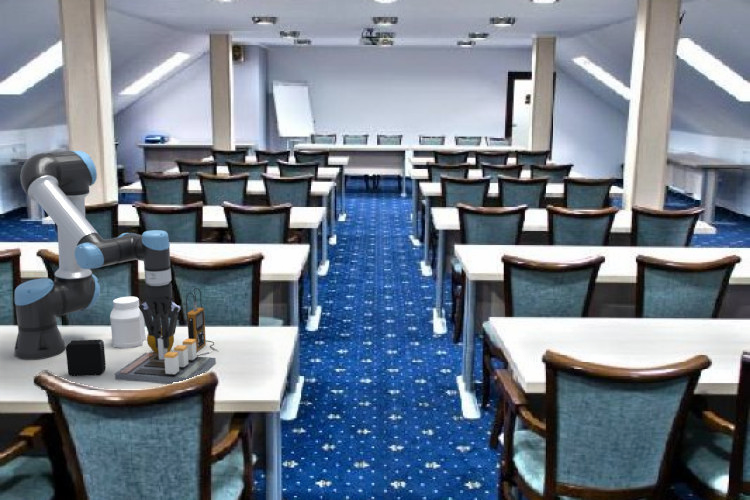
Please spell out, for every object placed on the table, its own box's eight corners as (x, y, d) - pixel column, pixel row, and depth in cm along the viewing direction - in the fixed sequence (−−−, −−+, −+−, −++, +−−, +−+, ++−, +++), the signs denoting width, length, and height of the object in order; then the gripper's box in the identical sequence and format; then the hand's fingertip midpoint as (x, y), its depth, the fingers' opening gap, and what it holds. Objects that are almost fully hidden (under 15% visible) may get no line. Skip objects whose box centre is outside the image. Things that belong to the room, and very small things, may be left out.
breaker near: (165, 373, 224) (164, 354, 222) (169, 370, 226) (168, 351, 225) (174, 374, 223) (173, 355, 222) (179, 370, 226) (178, 352, 224)
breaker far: (183, 359, 235) (182, 341, 234) (187, 356, 238) (186, 338, 236) (192, 360, 234) (191, 342, 233) (196, 356, 237) (195, 339, 236)
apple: (142, 355, 246) (140, 329, 244) (162, 347, 253) (160, 322, 251) (161, 360, 241) (159, 333, 239) (180, 352, 248) (179, 326, 247)
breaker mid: (175, 366, 229) (173, 348, 228) (179, 363, 232) (178, 345, 231) (184, 367, 229) (183, 348, 227) (188, 363, 231) (187, 345, 230)
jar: (139, 347, 253) (136, 304, 250) (110, 348, 252) (106, 305, 249) (147, 336, 264) (144, 294, 261) (119, 337, 263) (115, 295, 260)
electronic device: (72, 371, 232) (69, 340, 230) (106, 370, 233) (103, 339, 231) (68, 376, 228) (65, 344, 226) (102, 375, 229) (99, 343, 227)
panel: (115, 379, 226) (114, 372, 225) (145, 358, 243) (144, 351, 242) (190, 385, 221) (190, 378, 220) (215, 363, 238) (215, 357, 238)
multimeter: (213, 357, 243) (209, 297, 239) (184, 355, 245) (180, 295, 241) (230, 342, 257) (227, 285, 253) (203, 340, 259) (199, 284, 255)
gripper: (131, 284, 224) (137, 360, 229) (172, 287, 221) (177, 363, 226) (144, 278, 231) (149, 352, 236) (184, 280, 229) (188, 355, 234)
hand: (163, 357), depth 231 cm, fingers closed
